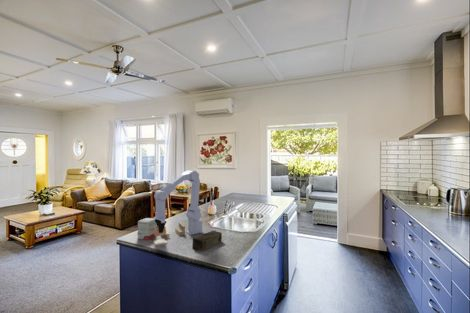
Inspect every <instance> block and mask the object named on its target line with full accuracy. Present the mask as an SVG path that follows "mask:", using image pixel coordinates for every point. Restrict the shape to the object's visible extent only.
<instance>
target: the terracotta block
mask: <svg viewBox="0 0 470 313" xmlns="http://www.w3.org/2000/svg"><path fill="white" fill-rule="evenodd" d="M166 230H167V229H166V225H165V226H164V230H163V233H159V228H158V226H157V225H156V226H154V235H155V237H160V236H161V237H162V235H166Z"/></svg>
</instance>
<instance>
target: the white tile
mask: <svg viewBox="0 0 470 313" xmlns="http://www.w3.org/2000/svg"><path fill="white" fill-rule="evenodd" d="M152 242H153V243H154V246H160V245H161V246H162V245H165V244H168V241H167V240H166V238H165V239H164V238H161V239H155V240H153V241H152Z"/></svg>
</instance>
